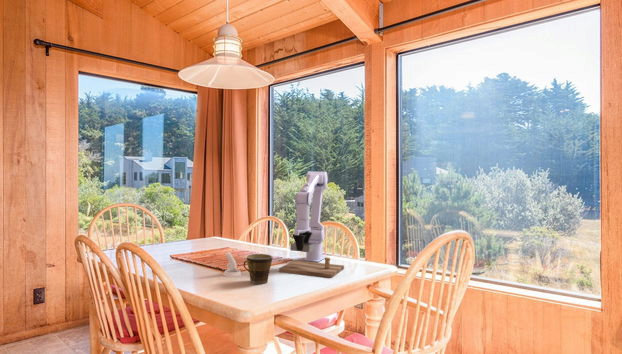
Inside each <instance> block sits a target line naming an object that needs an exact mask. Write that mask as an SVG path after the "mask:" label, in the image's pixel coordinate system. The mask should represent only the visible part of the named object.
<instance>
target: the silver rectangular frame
mask: <svg viewBox="0 0 622 354" xmlns="http://www.w3.org/2000/svg"><path fill="white" fill-rule="evenodd" d="M289 248H290V251H291V252H292V251H293V252H299V251H298V250H297V248H296V243H295V241H294V242H292V243H290V247H289ZM313 250H314V244H313V243H303V248H302V251H300V253H301V252H304V253H306V252H311V251H313Z"/></svg>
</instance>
